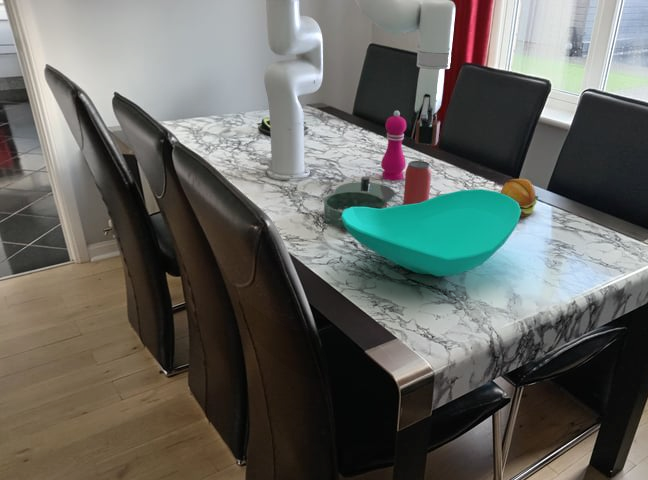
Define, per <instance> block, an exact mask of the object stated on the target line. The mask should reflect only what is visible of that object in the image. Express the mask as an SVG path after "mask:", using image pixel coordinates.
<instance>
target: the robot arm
mask: <svg viewBox="0 0 648 480" xmlns="http://www.w3.org/2000/svg"><path fill="white" fill-rule="evenodd" d="M354 2H355V3H356V5H357V7H358V9H359V11H360V12H361V13H362V14H363V16H364V17H366V18H367V19H368V20H369V21H371V23H373V24H374V25H375V26H376V27H377V28H379V29H381V30H382V31H384V32H386V33H389V34H392V35H393V34H403V33H406V34H409V33H418V42H417V43H418V44H417V57H416V67H417V68H419V72H418V77H417V86H416V93H415V102H414V112H415V113H416V114H418V113H419V112H421V113H420V118H419V119H420V126H419V138H418V142H419V143H424V144H423V145H425V144H431V143H432V135H433V127H432V122H433V120H436V121H438V120H437V119H438V111H439V109H440V108H441V106H442V101H443V94H444V83H445V70H449V69H450V68H451V58H452V48H453V38H454V28H455V18H456V4H455V2H454V1H453V0H354ZM265 9H266V11H265V12H266V29H267V41H268V47H269V49H270V51H271V52H272V53H274V54H275V55H277V56H295V59H286V60H279V61H275V62H274V63H271V64H270V65H268V67H267V68H266V69H265V71H264V75H263V81H264V87H265V92H266V95H267V96H266V97H267V101H268V102H267V103H268V111H269V113H268V114H269V120H270V133H271V137H270V154H271V156H270V157H267V156H259V164H260V166H267V167H268V168H267V169H266V175H267V176H268V177H269V178H271V179H274V180H278V181H291V180H299V179H304V178H306V177H308V176H309V175H310V174H311V171H310V168H308V167H307V166H305V134H304V126H305V124H304V122H305V119H304V117H305V116H304V115H305V114H304V110H303V107H302V104H301V102H300V100H299V98H298V97H300V96H306V95H311V94H313V93H316V92H317V91H318V90H319V89H320V88H321V86H322V83H323V77H324V48H323V47H324V42H323V41H324V39H323V33H322V30H321V27H320V25H319V23H318V22H317V20H315V19H314V18H313V17H311V16H307V15H301V13H300V0H265Z"/></svg>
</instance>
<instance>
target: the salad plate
mask: <svg viewBox="0 0 648 480" xmlns="http://www.w3.org/2000/svg"><path fill="white" fill-rule="evenodd" d="M305 124H307V122H306V121H304V135H305V134H306V133H307V132H309V131H310V127H309V126H305ZM256 125H257V129H258V130H259V132H260V134H262V135H265V136H267V137H269V138H271V133H270V118H267V117H263V118H262V120H261V122H258V123H256Z"/></svg>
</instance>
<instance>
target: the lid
mask: <svg viewBox="0 0 648 480" xmlns="http://www.w3.org/2000/svg"><path fill="white" fill-rule="evenodd" d="M346 191H359V192H361V191H368V192H371V194H375V195H378V196H380V197H381V198H383V199H385V201H386V203H388V202H390V201H392V200H393V199H394V198H395V195H396V193H395V190H394V189H393V188H391V187H390V186H388V185H384V184H382V183H376V182H372V181H371V177H369V176H361V177H360V181H355V182H354V181H353V182H347V183H344V184H341V185H339V186H337V187H336V189H335V190H334V193H339V192H346Z"/></svg>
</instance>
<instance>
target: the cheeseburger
mask: <svg viewBox="0 0 648 480" xmlns="http://www.w3.org/2000/svg"><path fill="white" fill-rule="evenodd" d="M500 193H501V194H504V195H507V196H509V197H511V198H512V199H513V200H515V201H516V202H518V204H519V207H520V209H521V214H520V217H527V216H530V215H532V213H534V209H535V206H536V204H537V203H538V202H537V200H538V199H539V196H538V195H536V190H535V188H534V185H533V183H532V182H531V181H530V180H528V179H525V178H514V179H509V180H507V181H506V182H505V183H504V184H503V186H502V188H501V190H500Z"/></svg>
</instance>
